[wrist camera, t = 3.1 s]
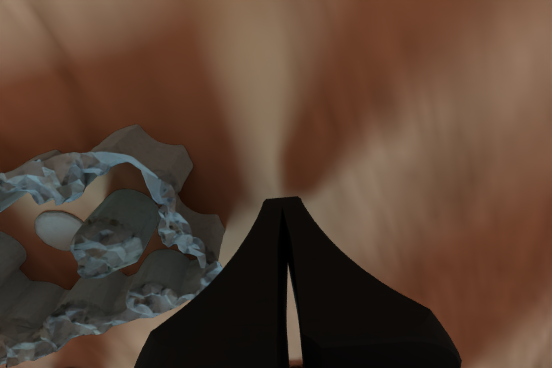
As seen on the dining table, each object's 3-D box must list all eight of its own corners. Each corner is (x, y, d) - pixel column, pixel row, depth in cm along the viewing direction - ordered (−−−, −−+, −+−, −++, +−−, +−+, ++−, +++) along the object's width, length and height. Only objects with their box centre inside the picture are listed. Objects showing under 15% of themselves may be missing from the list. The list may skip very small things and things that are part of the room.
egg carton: (43, 294, 15) (-26, 378, 12) (-73, 167, 12) (-221, 234, 8) (241, 257, 14) (231, 337, 11) (181, 104, 11) (136, 150, 7)
